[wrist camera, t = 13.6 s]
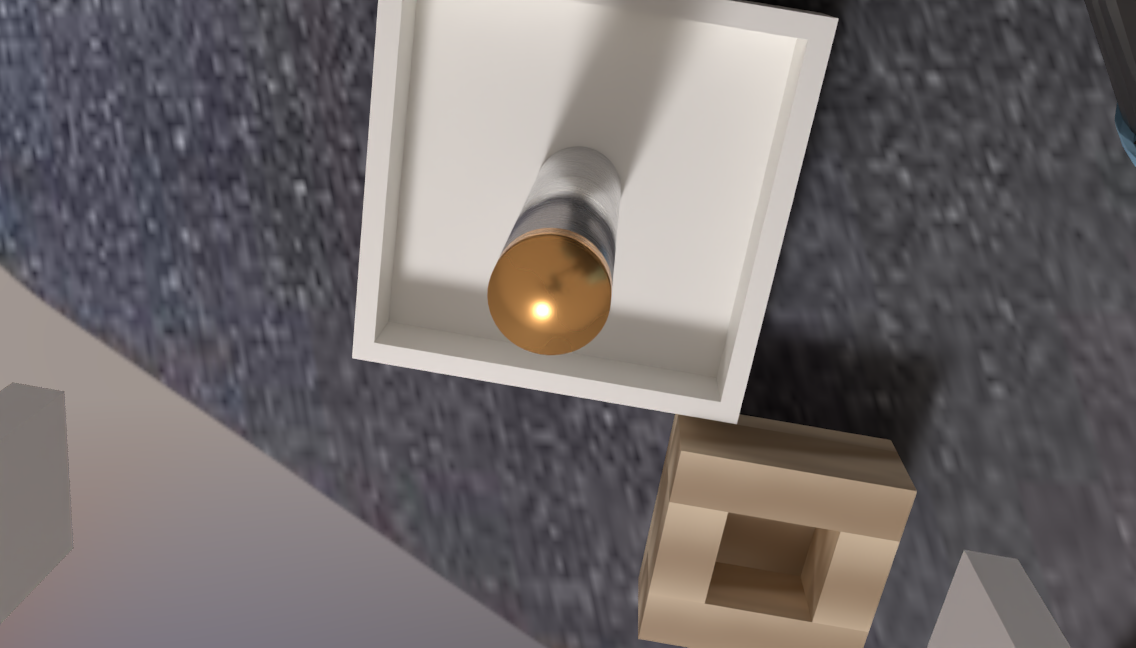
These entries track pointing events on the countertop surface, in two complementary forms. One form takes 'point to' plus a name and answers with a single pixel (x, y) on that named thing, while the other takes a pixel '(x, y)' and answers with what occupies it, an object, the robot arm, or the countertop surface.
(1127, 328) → the countertop surface
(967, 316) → the countertop surface
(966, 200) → the countertop surface
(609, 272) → the pin
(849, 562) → the socket block
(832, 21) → the rectangular frame
